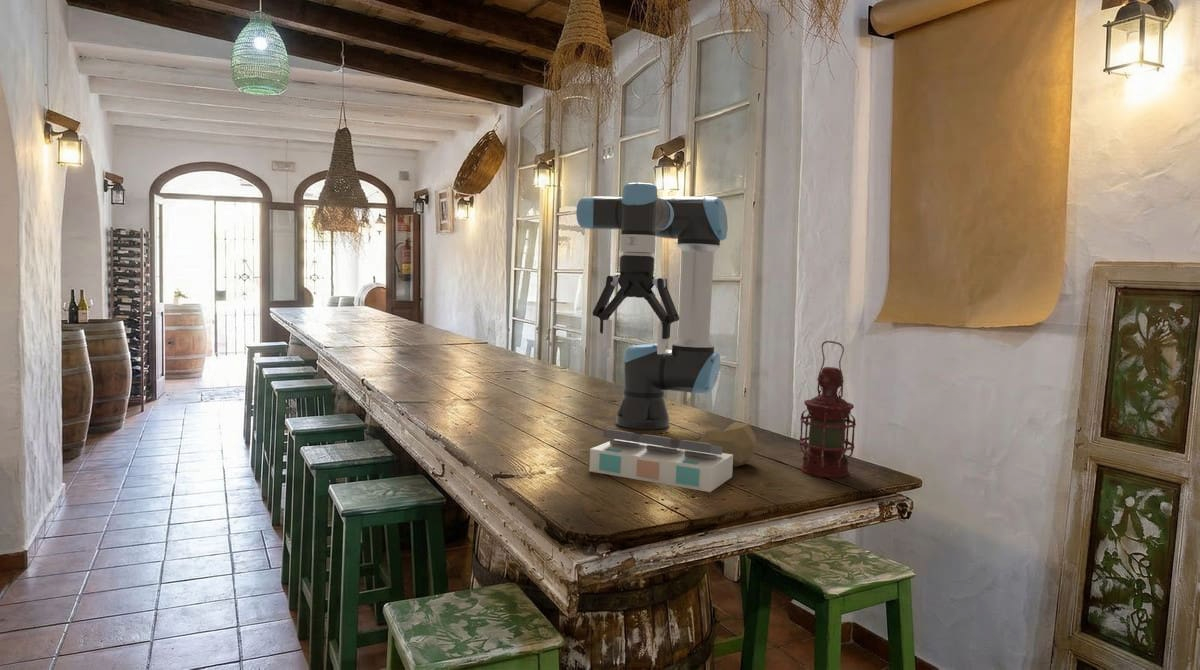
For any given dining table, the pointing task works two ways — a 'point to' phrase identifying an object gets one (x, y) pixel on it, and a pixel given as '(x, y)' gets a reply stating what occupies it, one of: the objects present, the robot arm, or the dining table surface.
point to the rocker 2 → (700, 447)
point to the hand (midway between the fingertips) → (633, 351)
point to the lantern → (827, 426)
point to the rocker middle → (659, 441)
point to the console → (662, 464)
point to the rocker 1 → (621, 435)
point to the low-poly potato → (733, 441)
